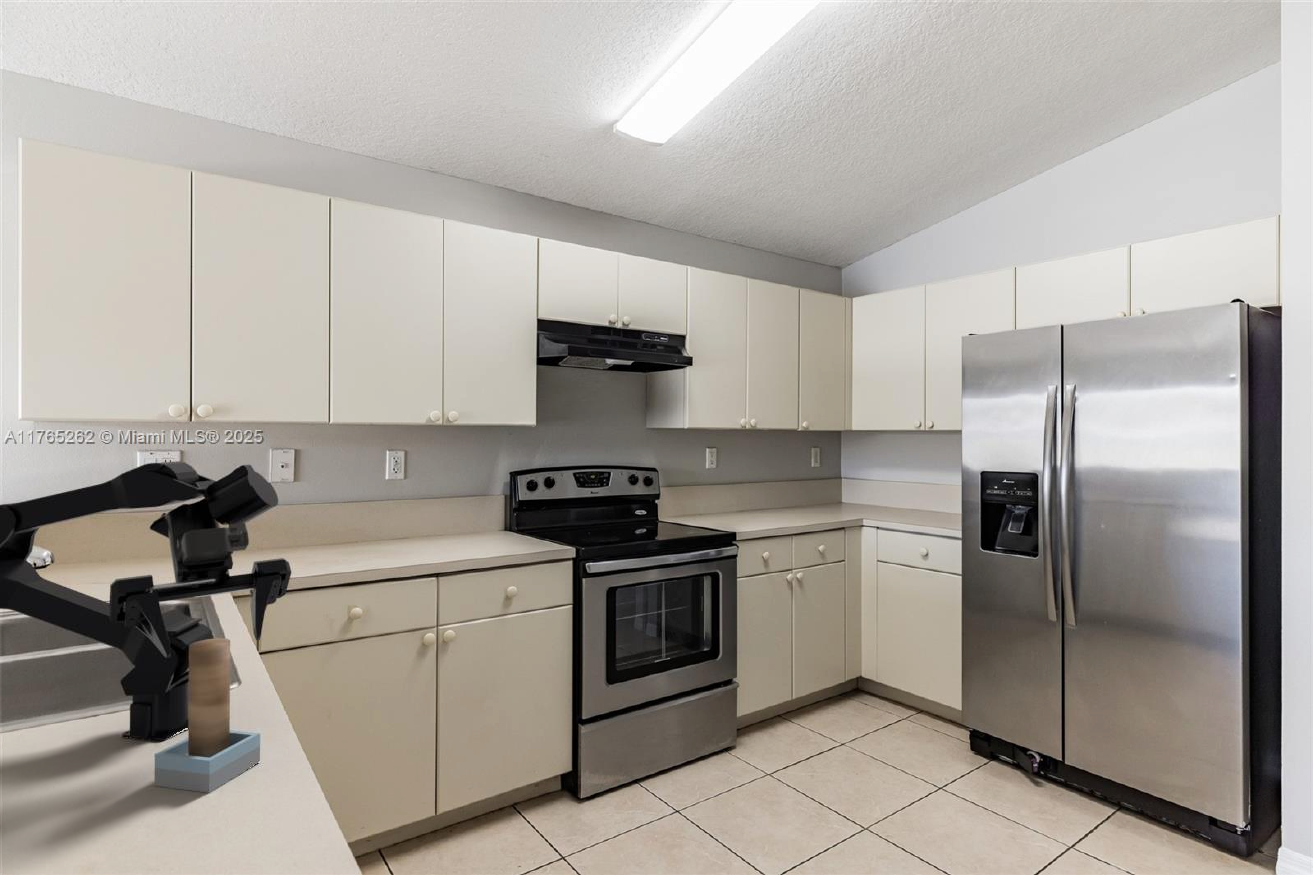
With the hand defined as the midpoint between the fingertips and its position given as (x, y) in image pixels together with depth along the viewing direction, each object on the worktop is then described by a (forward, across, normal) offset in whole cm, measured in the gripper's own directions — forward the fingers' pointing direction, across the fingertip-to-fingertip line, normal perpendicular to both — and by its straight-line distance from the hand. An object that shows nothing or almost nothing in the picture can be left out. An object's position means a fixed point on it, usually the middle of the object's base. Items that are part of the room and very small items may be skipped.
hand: (215, 646), depth 83 cm
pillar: (+10, -1, +6) cm, 12 cm away
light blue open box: (+12, -1, +8) cm, 14 cm away
